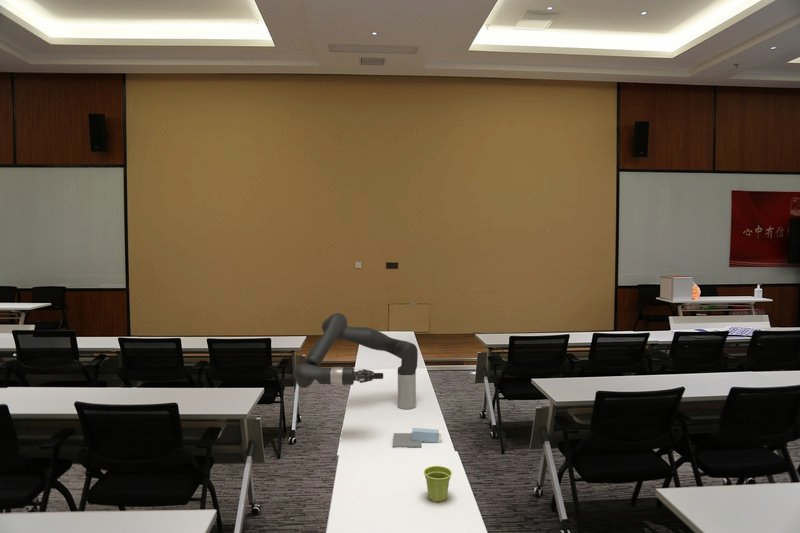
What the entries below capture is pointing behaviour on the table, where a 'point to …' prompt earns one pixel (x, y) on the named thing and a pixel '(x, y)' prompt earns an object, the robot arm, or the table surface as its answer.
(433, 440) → the blue block
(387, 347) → the robot arm
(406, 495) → the table surface
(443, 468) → the plant pot
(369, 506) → the table surface
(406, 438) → the mat
